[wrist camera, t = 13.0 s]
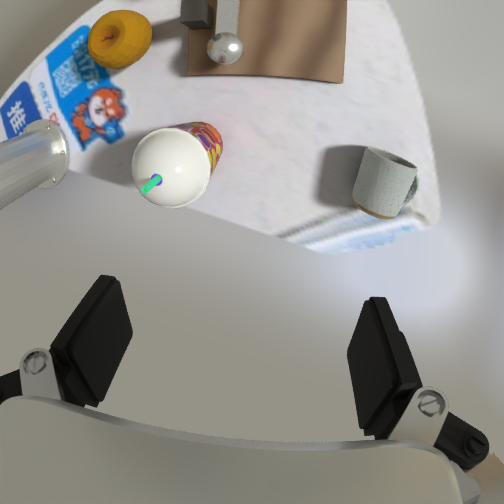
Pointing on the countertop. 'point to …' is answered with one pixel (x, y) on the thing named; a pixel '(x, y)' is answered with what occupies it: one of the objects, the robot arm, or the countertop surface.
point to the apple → (119, 39)
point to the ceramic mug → (384, 183)
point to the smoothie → (176, 163)
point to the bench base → (273, 38)
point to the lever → (226, 34)
